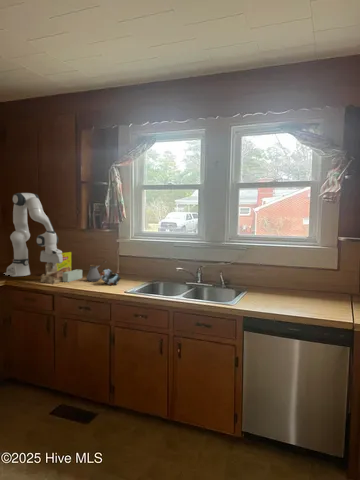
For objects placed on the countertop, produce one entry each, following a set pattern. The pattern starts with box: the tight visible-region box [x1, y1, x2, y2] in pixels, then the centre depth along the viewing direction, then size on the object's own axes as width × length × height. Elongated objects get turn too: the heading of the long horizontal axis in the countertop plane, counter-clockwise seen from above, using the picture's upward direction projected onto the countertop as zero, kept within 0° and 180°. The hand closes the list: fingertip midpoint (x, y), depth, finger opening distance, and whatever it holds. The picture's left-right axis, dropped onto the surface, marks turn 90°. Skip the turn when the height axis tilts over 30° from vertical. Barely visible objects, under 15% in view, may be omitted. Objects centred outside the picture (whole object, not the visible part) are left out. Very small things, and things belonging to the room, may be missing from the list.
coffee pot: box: [86, 260, 107, 283], centre depth 288 cm, size 21×12×15 cm, turn 152°
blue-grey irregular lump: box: [99, 268, 122, 286], centre depth 274 cm, size 15×12×14 cm
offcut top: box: [52, 271, 63, 278], centre depth 281 cm, size 5×10×4 cm, turn 172°
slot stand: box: [62, 269, 83, 283], centre depth 286 cm, size 5×18×7 cm, turn 159°
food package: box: [57, 251, 72, 273], centre depth 302 cm, size 15×1×20 cm, turn 143°
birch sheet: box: [45, 263, 57, 275], centre depth 283 cm, size 2×11×14 cm, turn 159°
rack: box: [40, 273, 63, 284], centre depth 282 cm, size 13×18×6 cm
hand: (51, 267), depth 282 cm, fingers closed
